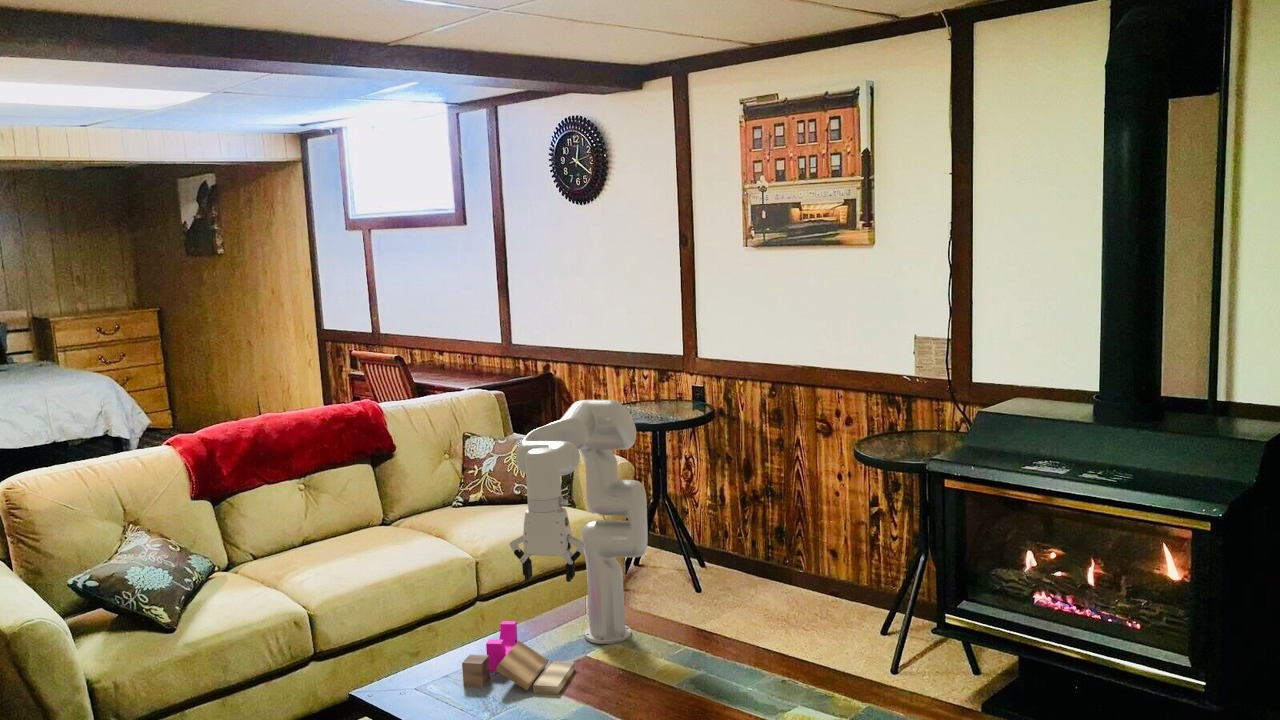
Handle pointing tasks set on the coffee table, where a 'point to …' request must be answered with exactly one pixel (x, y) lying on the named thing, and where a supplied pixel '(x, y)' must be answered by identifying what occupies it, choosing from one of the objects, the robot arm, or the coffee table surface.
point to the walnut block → (476, 670)
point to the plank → (522, 665)
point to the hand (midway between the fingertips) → (549, 579)
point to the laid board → (553, 677)
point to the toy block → (502, 644)
